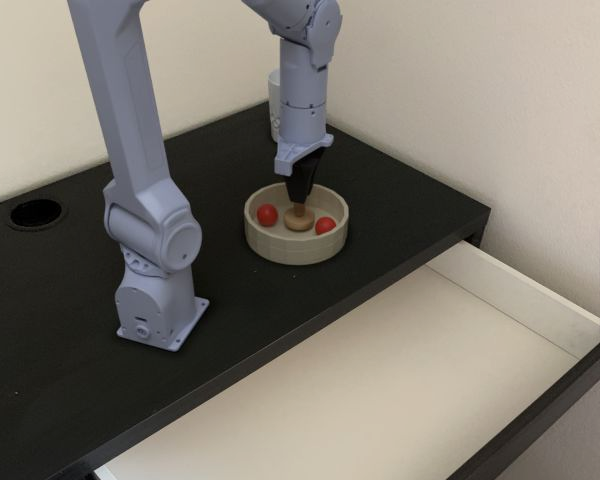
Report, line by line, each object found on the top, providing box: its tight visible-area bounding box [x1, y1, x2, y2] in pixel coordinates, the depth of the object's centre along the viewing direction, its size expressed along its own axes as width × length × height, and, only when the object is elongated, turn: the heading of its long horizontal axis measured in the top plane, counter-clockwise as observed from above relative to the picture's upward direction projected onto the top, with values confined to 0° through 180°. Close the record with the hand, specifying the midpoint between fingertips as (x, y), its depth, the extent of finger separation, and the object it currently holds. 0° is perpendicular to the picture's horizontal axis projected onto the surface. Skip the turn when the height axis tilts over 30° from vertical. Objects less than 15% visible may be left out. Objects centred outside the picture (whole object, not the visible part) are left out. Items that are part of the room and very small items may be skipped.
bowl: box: [243, 181, 350, 266], centre depth 92 cm, size 14×14×4 cm
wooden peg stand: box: [284, 201, 315, 230], centre depth 90 cm, size 4×4×8 cm
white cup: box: [267, 67, 280, 144], centre depth 108 cm, size 8×8×10 cm
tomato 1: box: [257, 204, 278, 226], centre depth 93 cm, size 3×3×3 cm
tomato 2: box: [315, 217, 336, 235], centre depth 91 cm, size 3×3×3 cm
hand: (300, 197), depth 91 cm, fingers closed on wooden peg stand
